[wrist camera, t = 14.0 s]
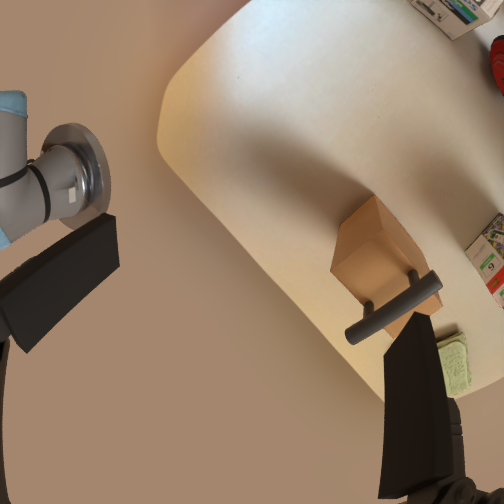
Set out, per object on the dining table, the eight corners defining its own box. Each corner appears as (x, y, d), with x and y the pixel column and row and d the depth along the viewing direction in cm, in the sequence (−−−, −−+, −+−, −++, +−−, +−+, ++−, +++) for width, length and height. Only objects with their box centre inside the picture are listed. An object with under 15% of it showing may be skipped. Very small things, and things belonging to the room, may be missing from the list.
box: (331, 232, 35) (309, 305, 21) (383, 185, 30) (402, 233, 17) (379, 285, 35) (381, 374, 22) (431, 245, 30) (465, 323, 17)
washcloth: (462, 324, 34) (467, 338, 32) (471, 378, 38) (473, 390, 36) (393, 353, 41) (394, 367, 38) (414, 400, 45) (415, 412, 42)
